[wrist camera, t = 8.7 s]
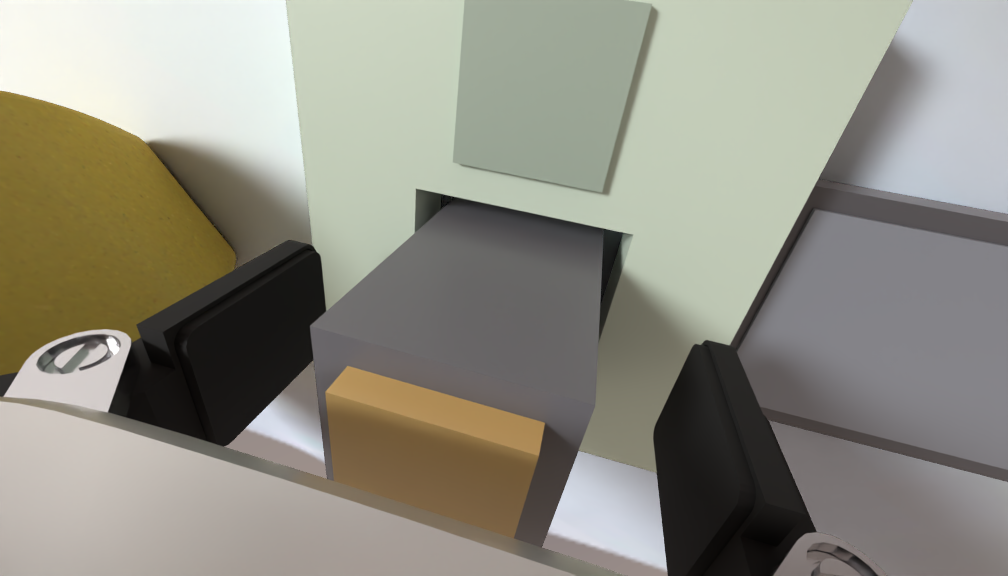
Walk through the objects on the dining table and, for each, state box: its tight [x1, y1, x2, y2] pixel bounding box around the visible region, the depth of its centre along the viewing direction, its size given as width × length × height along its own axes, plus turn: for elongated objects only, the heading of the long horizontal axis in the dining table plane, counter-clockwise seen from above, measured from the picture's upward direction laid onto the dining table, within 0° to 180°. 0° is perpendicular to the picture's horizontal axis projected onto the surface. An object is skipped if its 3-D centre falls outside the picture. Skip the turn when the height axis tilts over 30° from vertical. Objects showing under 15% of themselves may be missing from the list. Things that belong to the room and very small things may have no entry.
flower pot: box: [0, 91, 236, 375], centre depth 12 cm, size 9×9×9 cm
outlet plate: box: [286, 0, 913, 473], centre depth 12 cm, size 13×12×2 cm
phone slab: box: [730, 179, 1008, 482], centre depth 11 cm, size 7×12×1 cm, turn 82°
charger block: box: [310, 197, 604, 547], centre depth 10 cm, size 4×4×8 cm
